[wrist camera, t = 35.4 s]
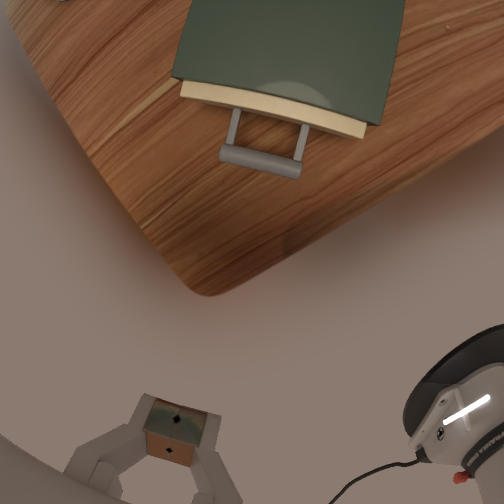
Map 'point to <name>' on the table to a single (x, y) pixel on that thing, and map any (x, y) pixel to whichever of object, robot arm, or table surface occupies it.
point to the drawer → (275, 109)
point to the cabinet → (296, 50)
